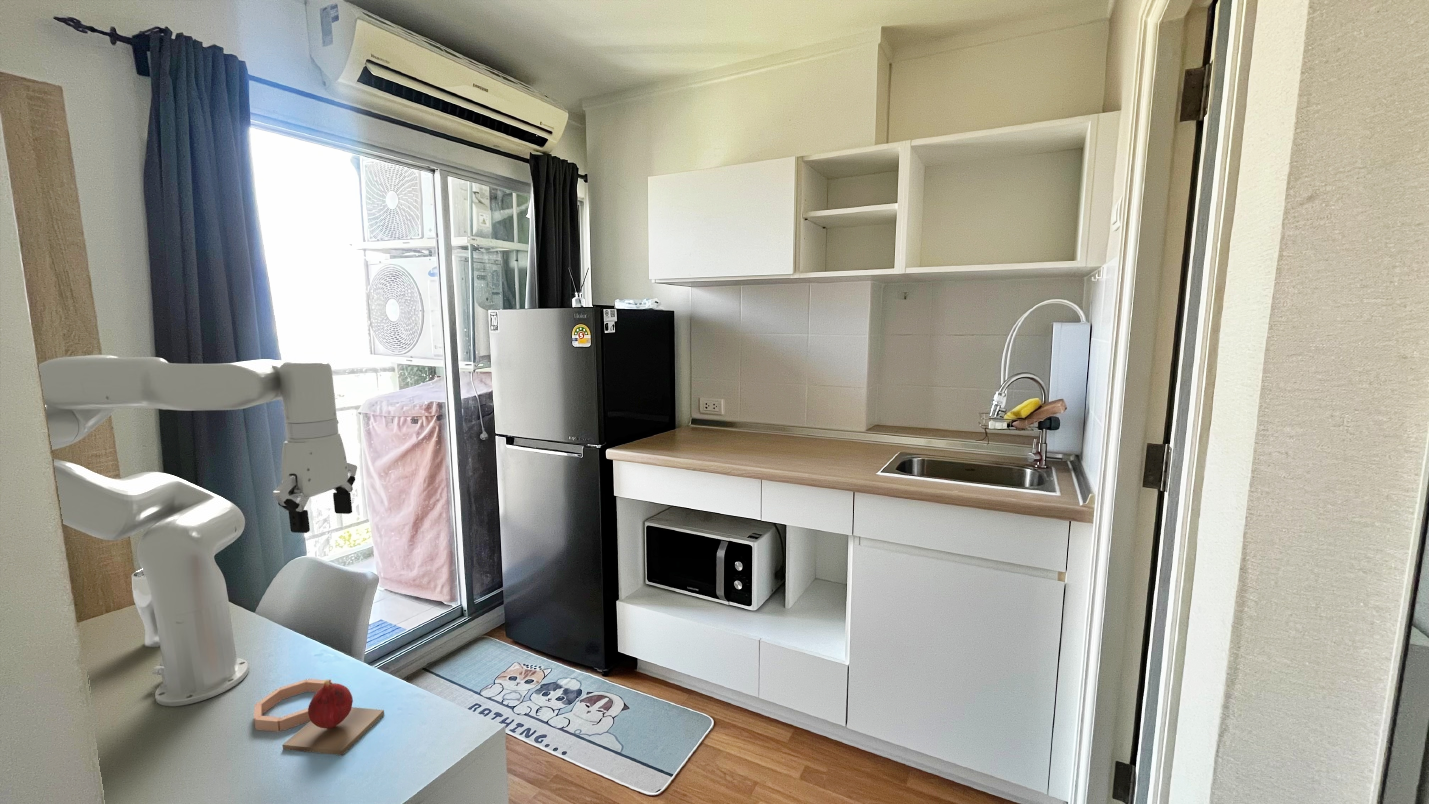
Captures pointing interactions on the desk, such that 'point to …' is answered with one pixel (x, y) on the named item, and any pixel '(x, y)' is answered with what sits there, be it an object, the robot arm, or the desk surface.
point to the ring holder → (276, 696)
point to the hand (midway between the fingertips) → (323, 522)
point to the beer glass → (145, 607)
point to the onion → (330, 705)
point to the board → (334, 733)
